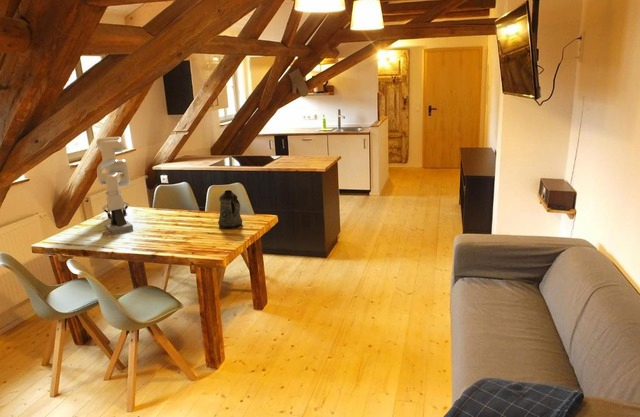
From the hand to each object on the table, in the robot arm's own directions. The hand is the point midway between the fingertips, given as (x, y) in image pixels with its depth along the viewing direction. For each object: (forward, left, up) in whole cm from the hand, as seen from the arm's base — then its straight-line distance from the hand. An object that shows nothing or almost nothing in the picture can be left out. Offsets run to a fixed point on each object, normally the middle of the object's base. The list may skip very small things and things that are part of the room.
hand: (117, 217), depth 319 cm
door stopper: (0, 0, -6) cm, 6 cm away
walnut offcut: (+7, -10, -10) cm, 15 cm away
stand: (0, 0, -9) cm, 9 cm away
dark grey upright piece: (+47, +62, -10) cm, 79 cm away
